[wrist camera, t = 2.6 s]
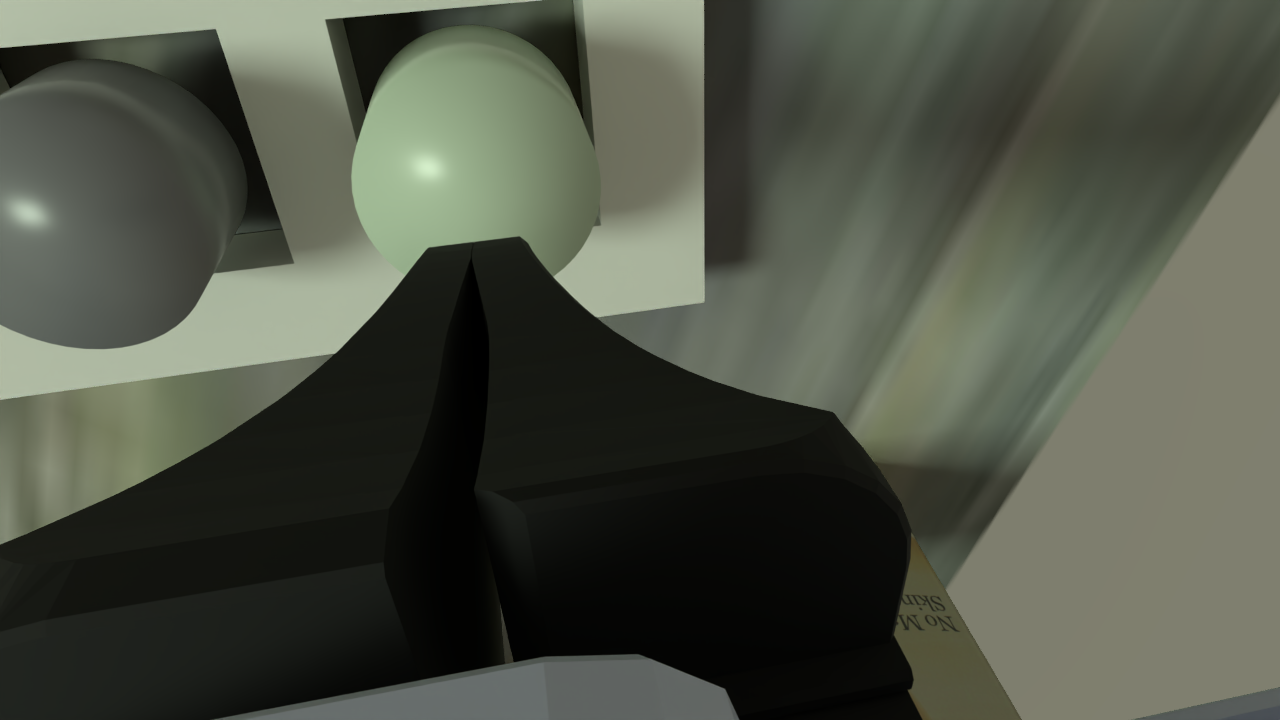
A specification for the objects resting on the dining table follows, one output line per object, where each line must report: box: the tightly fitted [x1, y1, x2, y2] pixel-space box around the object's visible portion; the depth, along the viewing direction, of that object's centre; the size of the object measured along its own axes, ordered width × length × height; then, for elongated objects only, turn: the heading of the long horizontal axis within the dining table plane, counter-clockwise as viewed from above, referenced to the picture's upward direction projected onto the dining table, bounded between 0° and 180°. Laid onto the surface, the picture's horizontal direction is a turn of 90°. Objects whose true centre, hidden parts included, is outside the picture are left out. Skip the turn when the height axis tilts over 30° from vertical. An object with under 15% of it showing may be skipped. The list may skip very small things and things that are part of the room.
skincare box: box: [894, 532, 1022, 720], centre depth 23 cm, size 6×4×12 cm
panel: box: [0, 0, 704, 400], centre depth 17 cm, size 10×24×2 cm, turn 93°
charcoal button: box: [0, 59, 248, 349], centre depth 15 cm, size 4×4×3 cm
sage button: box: [351, 25, 601, 276], centre depth 16 cm, size 4×4×3 cm
